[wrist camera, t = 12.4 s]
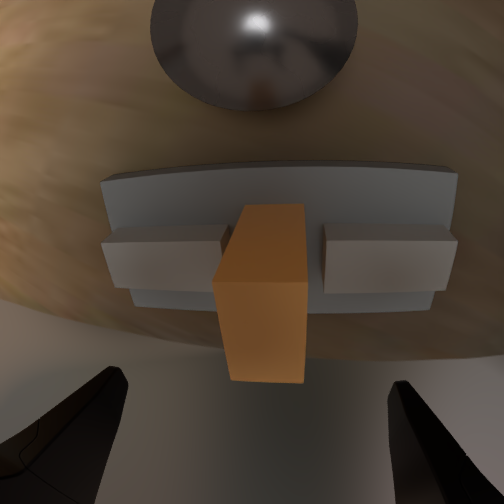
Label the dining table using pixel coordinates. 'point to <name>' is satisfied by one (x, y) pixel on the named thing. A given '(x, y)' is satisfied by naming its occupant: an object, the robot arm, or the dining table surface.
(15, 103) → the dining table surface
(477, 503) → the robot arm
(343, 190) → the notched board
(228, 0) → the grey and brown spool
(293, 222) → the orange tab
